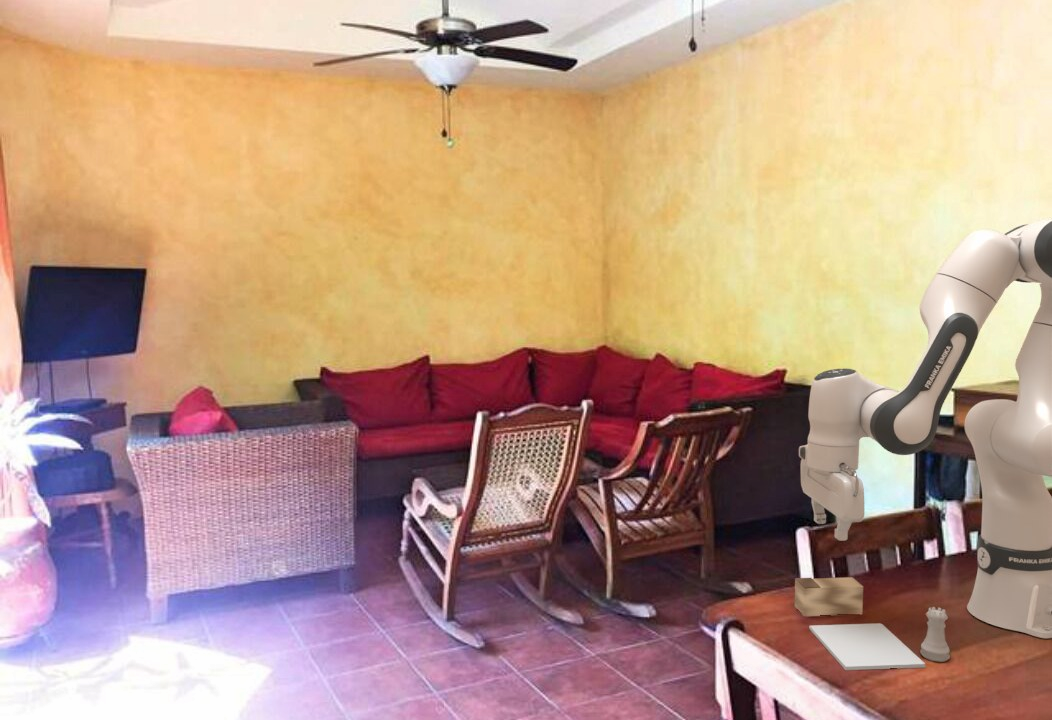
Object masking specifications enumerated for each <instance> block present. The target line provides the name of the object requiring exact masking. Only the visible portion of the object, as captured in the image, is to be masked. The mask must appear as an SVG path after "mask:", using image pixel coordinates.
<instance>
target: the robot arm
mask: <svg viewBox="0 0 1052 720" xmlns="http://www.w3.org/2000/svg"><path fill="white" fill-rule="evenodd" d="M1013 282H1020V283H1028V284H1029V283H1031V284H1032V283H1035V284H1036V283H1037V284H1039V287H1040V293H1041V296H1040V297H1041V298H1040V302H1039V303H1040V304H1039V308H1038V310H1037V312H1036V313H1035V316H1034V318H1033V320H1032V322H1031V325H1030V327H1029V329H1028V331H1027V333H1026V336H1025V338H1024V341H1023V343H1022V345H1021V347H1020V350H1019V351H1018V352H1019V353H1018V354H1017V357H1016V358H1015V364H1014V365H1015V366H1014V367H1015V370H1016V374H1017V375H1018V391H1017V398H1016V401H1014V400H1012V399H1007V398H1006V399H1003V398H1002V399H1001V398H1000V399H999V398H998V399H988V400H982V401H979V402H977V404H976V403H975V405H973V406H972V407H971V408H970V410H968V412H967V414H966V416H965V418H964V419H965V420H964V432H965V435H966V436H967V439H968V440H969V442H970V443H971V446H972V448H973V452H974V455H975V461H976V465H977V470H978V475H979V480H980V487H981V495H982V497H981V498H982V504H981V505H982V506H981V510H982V511H981V527H980V528H981V531H980V532H981V533H980V534H979V535H978V538H977V551H976V552H977V553H976V559H977V573H976V577H975V580H974V581H975V582H974V587H973V590H972V592H971V596H970V598H969V602H968V603H967V605H966V608H967V611H968V612H969V614H971V616H974V618H976V619H978V620H980V621H982V622H985V623H986V624H990V625H992V626H995V627H999V628H1002V629H1006V630H1010V631H1015V632H1021V633H1025V634H1028V635H1030V636H1033V637H1036V638H1041V639H1052V495H1051V494H1050V492H1049V490H1048V488H1047V486H1046V483H1045V481H1044V480H1045V479H1044V478H1043V476H1047V477H1052V217H1049V218H1042V219H1038V220H1036V221H1034V222H1030V223H1028V224H1027V223H1026V224H1022V225H1019V226H1016V227H1015V228H1012V229H1010V230H1009V231H1008V232H1005V233H1003V232H1000V231H997V230H993V229H978V230H974V231H972V232H971V233H969V234H968V235H966V236H965V237H964V239H963V240H962V241H961V242H960V243H959V244H958V245H957V246H956V247H955V248H954V249H953V250H952V251H951V253H950V254H949V255H948V256H947V257H946V260H944V262H943V263H942V264H941V266H940V267H939V269H938V270H937V272H936V273H935V275H934V276H933V277H932V279H931V280H930V283H928V285H927V287H926V289H925V291H924V294H923V296H922V298H921V301H920V304H919V314H920V317H921V320H922V322H923V324H924V326H925V328H926V329H927V334H928V341H927V346H926V348H925V351H924V353H923V354H922V356H921V358H920V360H919V362H918V363H917V365H916V367H915V368H914V371H913V372H912V374H911V377H910V378H909V380H908V381H907V384H906V385H904V387H903V388H902V389H901V390H896V389H894V388H891V387H888V386H885V385H882V384H879V383H877V382H875V381H873V380H871V379H868V378H867V377H865V376H864V375H862V374H860V373H859V372H858V371H857V370H856V369H852V368H835V369H828V370H825V371H823V372H820V373H818V374H817V375H816V376H814V378H813V380H812V383H811V386H810V391H809V401H808V415H807V416H808V421H809V429H810V430H809V433H808V435H807V444H805V445H800V446H799V447H798V457H799V458H800V459H801V460H800V486H801V489H802V492H803V493H804V494H805V495H807V496H808V497H809V498H810V499H811V501H810V503H811V506H812V511H813V521H814V522H815V523H816V524H818V525H823V524H826V523H827V514H826V513H825V510H827V511H828V512H829V513H831V514H833V515H834V516H836V522H837V526H836V528H834V538H835V539H836V540H838V541H839V542H841V541H843V542H844V541H847V540H848V538H849V536H848V534H849V533H848V532H849V530H850V527H851V525H852V523H861V522H862V521H863V520H864V518H865V490H864V489H865V488H864V484H863V482H862V479H861V478H860V477H858V475H857V470H858V469H859V457H860V455H859V454H860V453H859V452H860V440H861V439H862V438H870V439H872V440H873V441H875V442H877V443H878V444H879V445H880V446H881V447H882V448H883V449H884V450H886V451H887V452H889V453H891V454H893V455H898V456H899V455H900V456H909V455H914V454H917V453H919V452H921V451H923V450H924V449H925V448H927V447H928V446H929V445H930V444H931V443H932V441H933V440H934V438H935V436H936V433H937V431H938V425H939V422H940V421H939V419H940V416H941V411H942V408H943V405H944V403H945V401H946V399H947V397H948V395H949V393H950V392H951V390H952V388H953V386H954V384H955V382H957V379H958V378H959V375H960V373H961V372H962V370H963V368H964V366H965V365H966V362H967V361H968V359H969V356H970V355H971V353H972V350H973V348H974V347H975V344H976V341H977V339H978V337H979V335H980V332H981V329H982V327H983V326H984V325H985V322H986V321H987V319H988V317H989V316H990V314H991V313H992V311H993V310H994V309H995V307H996V305H997V304H998V302H999V301H1000V299H1001V297H1002V296H1003V294H1004V293H1005V291H1006V289H1007V288H1008V287H1009V286H1010V285H1011V284H1012V283H1013Z"/></svg>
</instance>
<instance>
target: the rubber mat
mask: <svg viewBox="0 0 1052 720" xmlns="http://www.w3.org/2000/svg"><path fill="white" fill-rule="evenodd" d="M808 628H809V630H810V632H811V633H812V634H813V635H814V636H815V637H816V638H817V640H818V641H819V642H820V643H821V644H822V645H823V646H824V647H825V649H826V650H827V651H828V653H830V654H831V655H832V657H833V658H834V659H835V660H836V661H837V663H839V665H840V666H841V667H842V668H843V670H845V671H859V670H861V671H863V670H864V671H865V670H866V671H867V670H868V671H869V670H889V669H890V668H897V669H914V668H915V669H920V668H922V669H923V668H926V663H925V662H924V661H923V660H922V659H921V658H920V657H918V656H917V655H916V654H915V653H914V652H913V651H912V650H911V649H910V648H909V647H908V646H907V645H905V644H904V643H903V642H902V640H900V639H899V638H898V637H897V636H895V634H894V633H892V631H890V630H889V629H888V628H887V627H886V626H885V625H884V624H882V623H879V622H877V623H850V624H846V623H845V624H817V625H816V624H815V625H809V627H808Z"/></svg>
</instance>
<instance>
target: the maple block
mask: <svg viewBox="0 0 1052 720" xmlns="http://www.w3.org/2000/svg"><path fill="white" fill-rule="evenodd" d="M794 580H795V581H794V608H795V609H798V610H799V611H800V612H801V613H802V614H801V613H800V612H799V611H798V610H797V611H798V612H799V613H800V614H801V615H802V616H803V617H821V616H820V615H831V616H838V615H837V614H860V615H863V610H864V609H863V608H864V607H863V605H864V604H863V603H864V601H863V600H864V586H863V584H861V583H860V582H859V581H857V580H856V579H855V578H854V577H852V576H851V577H849V576H847V577H826V578H825V577H824V578H821V577H820V578H819V577H818V578H813V577H795V578H794Z"/></svg>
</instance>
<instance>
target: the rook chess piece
mask: <svg viewBox="0 0 1052 720" xmlns="http://www.w3.org/2000/svg"><path fill="white" fill-rule="evenodd" d="M925 615H926V617H927V619H928V621H927V622H926V624H927V632H926V636H925V638H924V639H923V642H921V644H920V648H921V649H920V650H919V651H920V652H919V653H920V655H921V656H922V657H923V658H925V659H926V660H928V661H931V662H934V661H935V662H936V663H944V662H948V661H949V659H950V658H951V655H950V652H951V651H950V647H949V646H948V642H946V634H945V628H946V627H947V626H946V623H945V622H946V620H948V618H949V616H948V615H947V613H946V609H944V608H943V609H942V607H937V609H936V606H931V607H928V611H927V612H925Z"/></svg>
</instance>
